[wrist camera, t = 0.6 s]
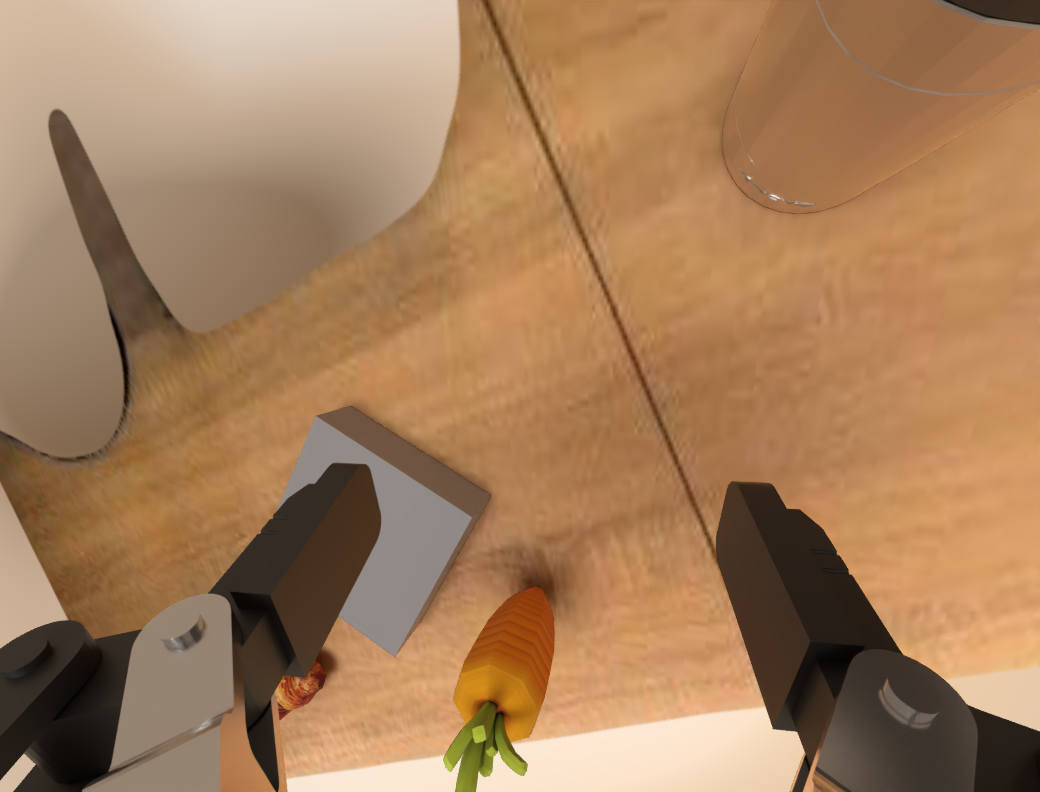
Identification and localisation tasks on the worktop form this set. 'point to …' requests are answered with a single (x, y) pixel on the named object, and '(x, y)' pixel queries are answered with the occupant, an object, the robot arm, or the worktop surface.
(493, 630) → the carrot
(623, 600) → the worktop surface
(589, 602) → the worktop surface
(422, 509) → the base block
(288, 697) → the croissant
